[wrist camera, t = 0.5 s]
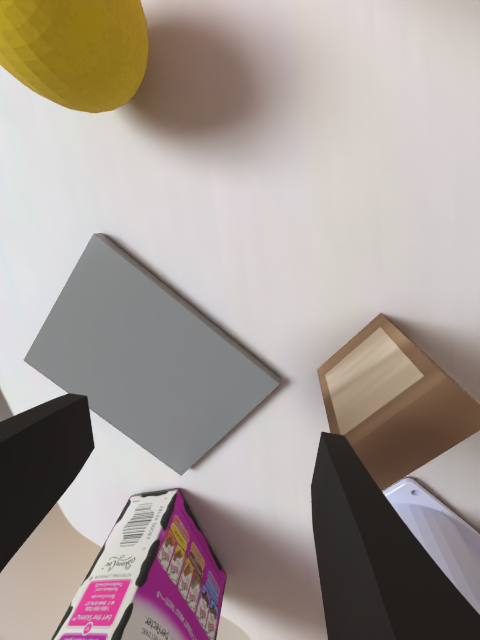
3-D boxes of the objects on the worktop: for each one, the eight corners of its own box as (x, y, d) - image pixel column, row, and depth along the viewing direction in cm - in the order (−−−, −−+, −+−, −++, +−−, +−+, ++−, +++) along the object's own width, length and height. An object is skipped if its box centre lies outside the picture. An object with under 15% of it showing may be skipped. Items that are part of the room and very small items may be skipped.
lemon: (110, -40, 13) (-142, -416, 5) (198, 65, 13) (90, -130, 6) (50, 73, 14) (-202, -84, 7) (130, 159, 15) (-18, 101, 8)
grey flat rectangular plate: (279, 377, 18) (279, 384, 17) (184, 467, 22) (181, 475, 21) (101, 233, 17) (93, 233, 16) (33, 355, 21) (23, 360, 20)
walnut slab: (410, 339, 16) (495, 420, 10) (345, 393, 18) (379, 492, 11) (380, 312, 16) (445, 376, 9) (316, 369, 18) (335, 456, 11)
